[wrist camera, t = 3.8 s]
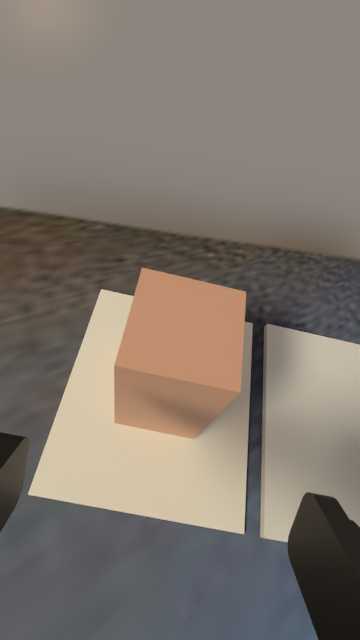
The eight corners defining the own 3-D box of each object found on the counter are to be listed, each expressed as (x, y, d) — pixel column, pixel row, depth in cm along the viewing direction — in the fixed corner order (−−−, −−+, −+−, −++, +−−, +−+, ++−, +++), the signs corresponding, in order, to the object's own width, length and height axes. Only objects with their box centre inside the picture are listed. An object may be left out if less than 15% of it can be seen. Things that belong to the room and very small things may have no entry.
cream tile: (251, 324, 26) (252, 323, 26) (243, 534, 18) (244, 534, 18) (101, 290, 25) (101, 288, 25) (28, 494, 18) (27, 494, 17)
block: (203, 366, 23) (246, 291, 15) (193, 439, 20) (240, 392, 13) (133, 351, 23) (142, 267, 15) (114, 423, 20) (114, 365, 12)
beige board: (405, 359, 27) (411, 356, 26) (456, 573, 19) (465, 575, 19) (263, 327, 26) (266, 323, 25) (260, 537, 18) (264, 537, 18)
